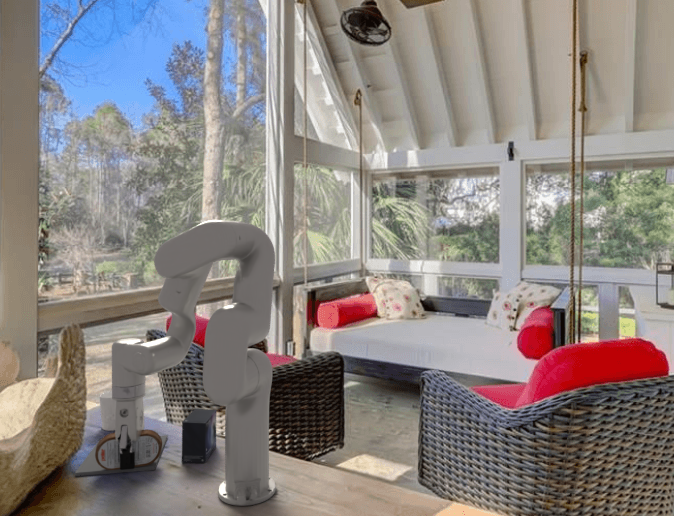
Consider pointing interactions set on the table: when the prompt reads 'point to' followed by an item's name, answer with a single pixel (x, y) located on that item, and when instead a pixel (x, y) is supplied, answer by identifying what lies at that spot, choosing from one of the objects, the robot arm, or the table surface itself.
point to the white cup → (107, 411)
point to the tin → (144, 450)
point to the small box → (198, 436)
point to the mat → (94, 468)
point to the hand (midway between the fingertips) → (129, 464)
